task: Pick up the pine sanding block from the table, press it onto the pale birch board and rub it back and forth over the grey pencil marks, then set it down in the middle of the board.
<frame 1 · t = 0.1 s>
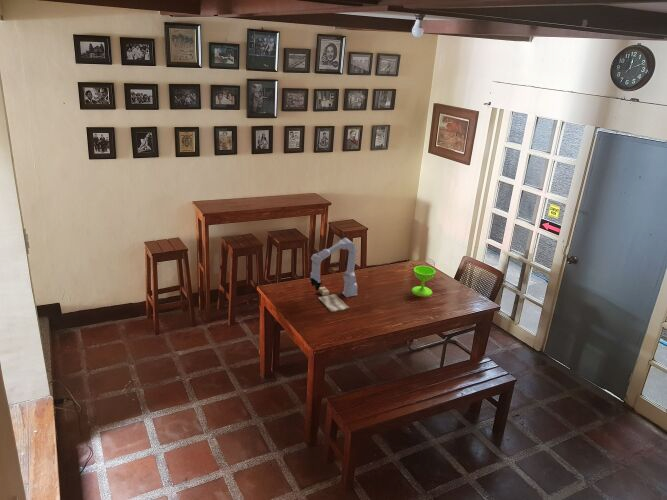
hand: (315, 287, 377), 10 cm above the table, tool pointing down, fingers open, 7 cm apart
birch board: (333, 303, 378), on the table
wineglass: (421, 291, 403), on the table
sanding block: (323, 294, 391), on the table
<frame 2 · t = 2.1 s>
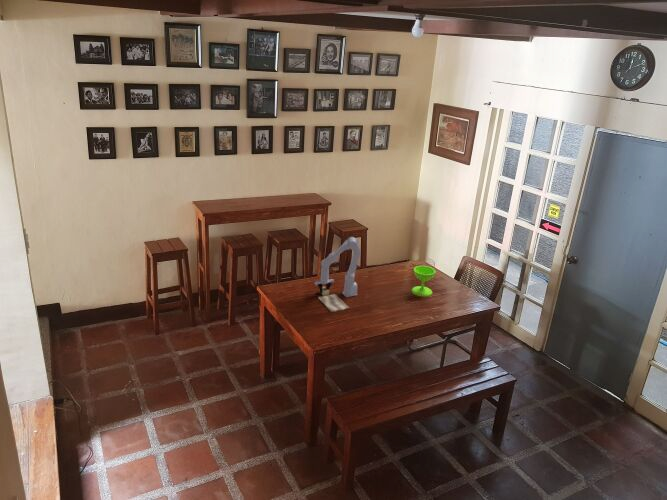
hand: (323, 292, 391), 1 cm above the table, tool pointing down, fingers closed on sanding block, 4 cm apart
sanding block: (323, 293, 391), on the table, touching gripper
everything else where it was.
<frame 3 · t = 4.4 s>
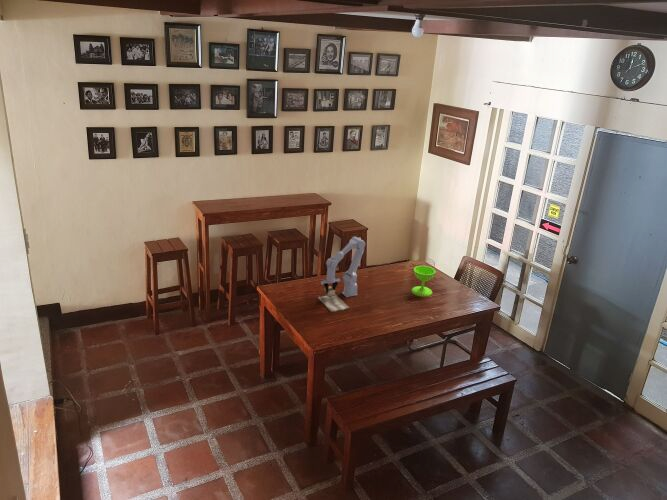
hand: (330, 291, 380), 6 cm above the table, tool pointing down, fingers closed on sanding block, 4 cm apart
sanding block: (329, 293, 381), point 5 cm above the table, touching gripper
everything else where it was.
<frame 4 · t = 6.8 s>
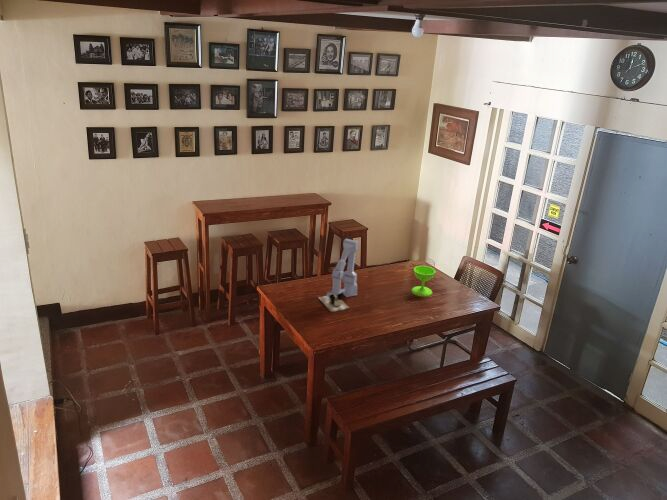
hand: (335, 303, 374), 2 cm above the table, tool pointing down, fingers closed on sanding block, 4 cm apart
sanding block: (335, 304, 375), point 1 cm above the table, touching gripper
everything else where it was.
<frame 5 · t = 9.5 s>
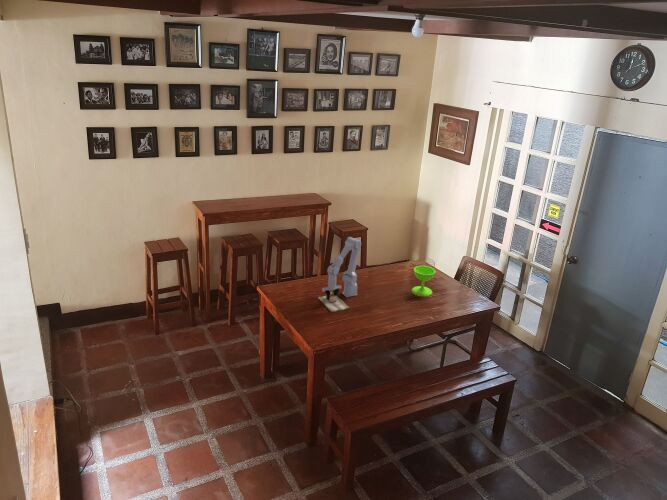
hand: (331, 298, 380), 2 cm above the table, tool pointing down, fingers closed on sanding block, 4 cm apart
sanding block: (331, 299, 381), point 1 cm above the table, touching gripper
everything else where it was.
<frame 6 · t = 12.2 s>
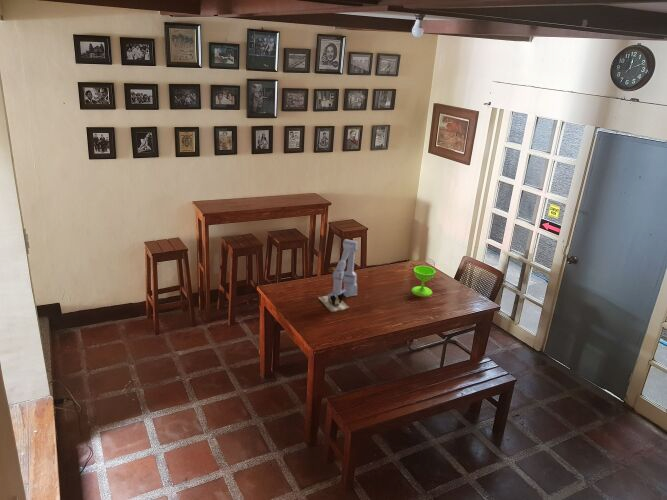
hand: (336, 303, 373), 2 cm above the table, tool pointing down, fingers closed on sanding block, 5 cm apart
sanding block: (333, 302, 376), point 1 cm above the table, tilted 6°, touching gripper
everything else where it was.
when the fingers open (3 cm above the table, at t = 13.7 s): sanding block stays where it is, resting on birch board.
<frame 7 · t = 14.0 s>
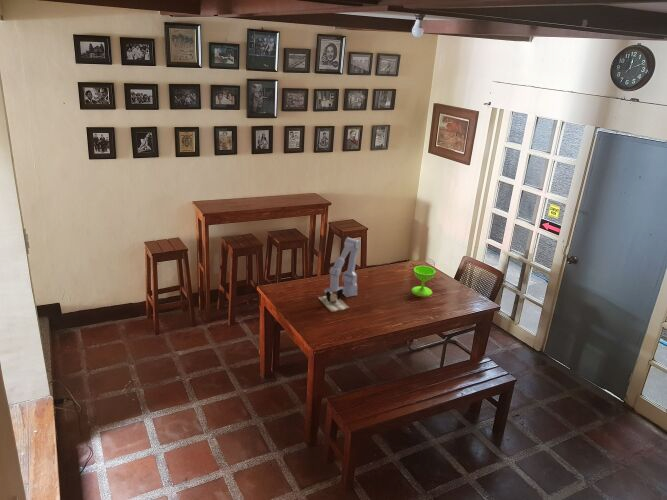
hand: (333, 300, 377), 3 cm above the table, tool pointing down, fingers open, 7 cm apart
sanding block: (331, 299, 381), point 1 cm above the table, touching birch board
everything else where it was.
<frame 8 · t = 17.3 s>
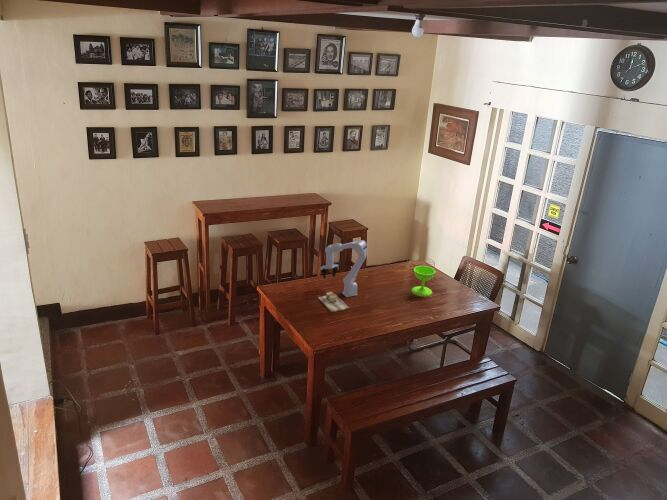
hand: (328, 277, 396), 9 cm above the table, tool pointing down, fingers open, 7 cm apart
nothing on the table moved.
at the end: sanding block inside the target area (4.4 cm from its centre), point 1.1 cm above the table; sanding block touching birch board; the gripper is holding nothing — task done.
